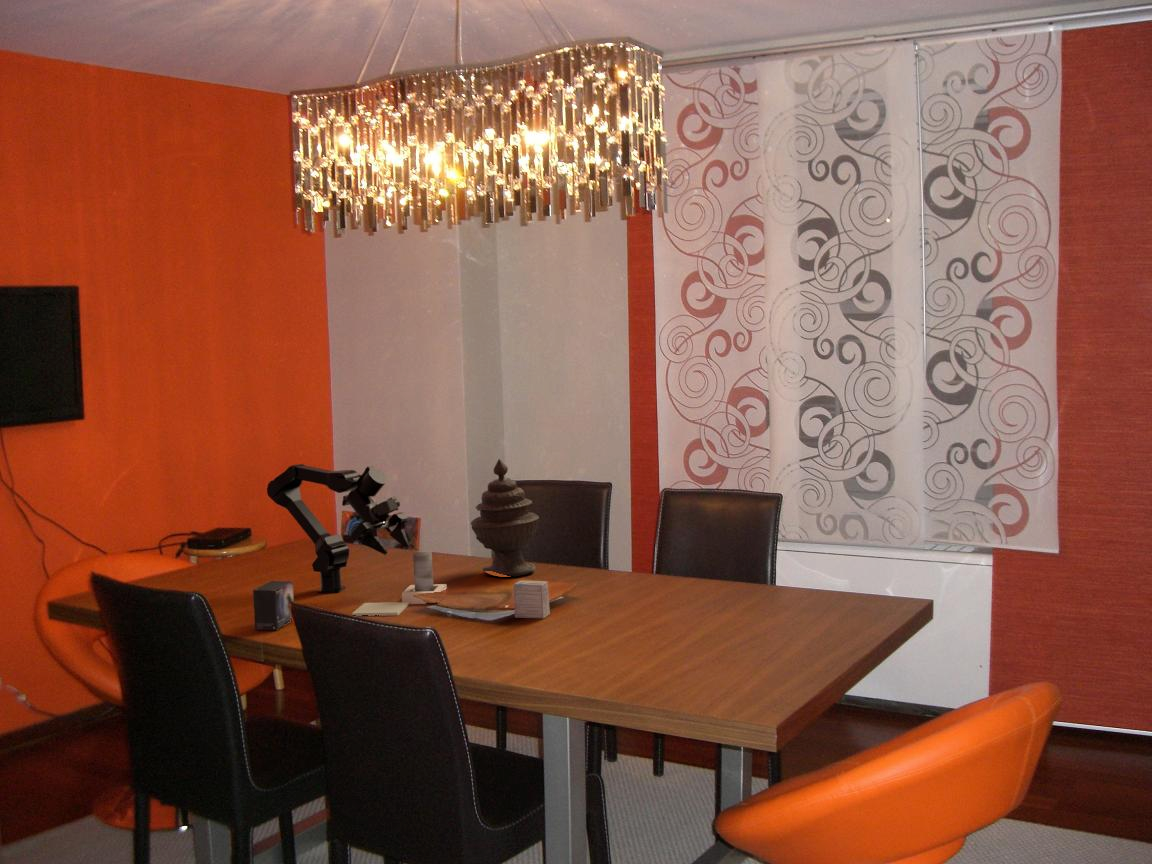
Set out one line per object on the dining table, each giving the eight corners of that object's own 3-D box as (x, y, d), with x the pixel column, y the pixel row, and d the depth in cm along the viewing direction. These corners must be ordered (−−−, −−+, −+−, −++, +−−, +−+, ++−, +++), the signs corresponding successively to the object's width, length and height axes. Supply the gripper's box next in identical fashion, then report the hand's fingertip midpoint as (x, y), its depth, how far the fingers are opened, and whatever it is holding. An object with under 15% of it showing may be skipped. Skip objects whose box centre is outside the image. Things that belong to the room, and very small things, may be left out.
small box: (278, 631, 281) (275, 589, 280) (253, 631, 283) (250, 589, 282) (296, 620, 292) (294, 580, 291) (273, 620, 293) (270, 580, 292)
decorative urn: (550, 562, 346) (538, 450, 341) (537, 582, 326) (523, 463, 321) (486, 566, 350) (473, 455, 344) (469, 585, 330) (454, 468, 325)
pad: (364, 605, 304) (364, 602, 304) (408, 605, 303) (408, 602, 303) (352, 616, 293) (352, 613, 293) (397, 615, 292) (397, 612, 292)
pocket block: (411, 595, 314) (410, 584, 313) (447, 594, 313) (446, 584, 312) (402, 604, 304) (401, 593, 304) (438, 603, 303) (438, 592, 302)
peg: (418, 597, 311) (415, 550, 310) (436, 597, 310) (433, 550, 309) (413, 601, 306) (410, 554, 305) (431, 601, 305) (429, 554, 304)
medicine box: (550, 614, 286) (548, 581, 285) (544, 619, 281) (542, 585, 281) (521, 613, 288) (519, 580, 287) (514, 618, 284) (512, 584, 283)
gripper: (357, 493, 303) (390, 538, 299) (402, 483, 319) (434, 525, 315) (336, 520, 308) (368, 564, 304) (381, 509, 324) (412, 551, 320)
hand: (397, 550), depth 310 cm, fingers open, 9 cm apart
